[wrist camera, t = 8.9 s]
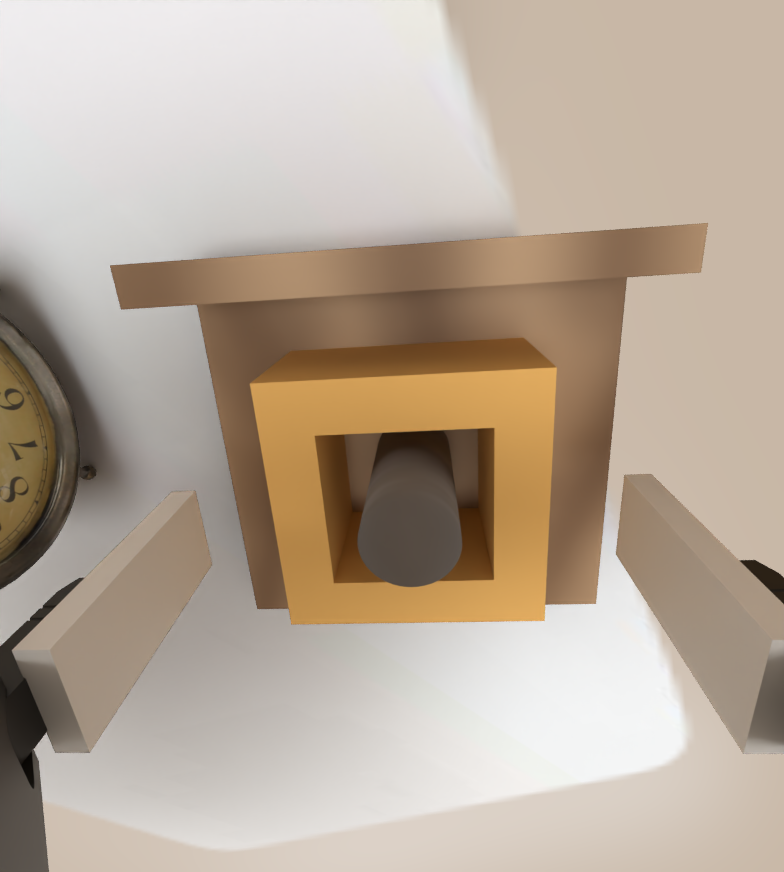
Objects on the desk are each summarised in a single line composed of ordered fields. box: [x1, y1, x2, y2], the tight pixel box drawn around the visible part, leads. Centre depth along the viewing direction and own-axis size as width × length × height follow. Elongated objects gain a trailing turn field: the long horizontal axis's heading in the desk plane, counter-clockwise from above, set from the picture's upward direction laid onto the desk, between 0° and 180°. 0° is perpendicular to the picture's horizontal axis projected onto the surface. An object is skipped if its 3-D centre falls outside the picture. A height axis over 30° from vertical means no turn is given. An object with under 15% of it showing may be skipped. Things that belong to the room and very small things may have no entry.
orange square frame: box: [250, 337, 557, 624], centre depth 19 cm, size 9×9×5 cm
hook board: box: [110, 223, 708, 609], centre depth 18 cm, size 16×16×8 cm
